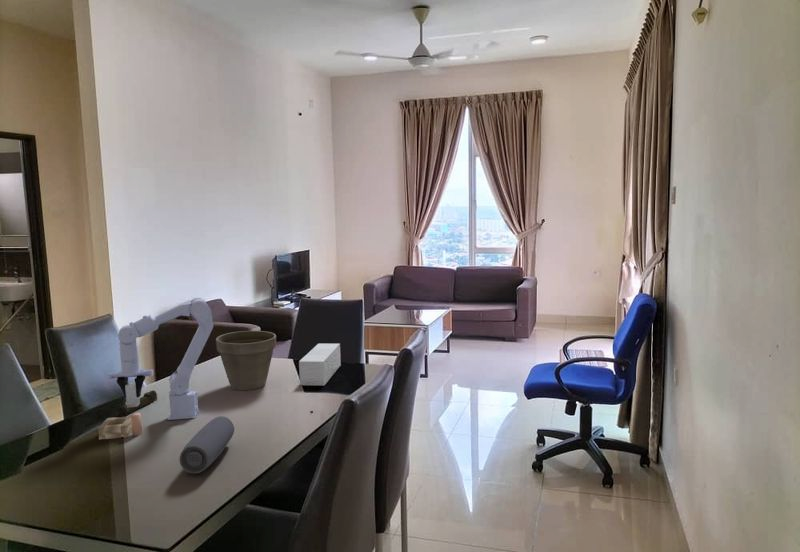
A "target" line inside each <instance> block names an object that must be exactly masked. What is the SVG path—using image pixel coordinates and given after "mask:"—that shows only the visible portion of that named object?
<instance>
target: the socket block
mask: <svg viewBox="0 0 800 552" xmlns="http://www.w3.org/2000/svg"><path fill="white" fill-rule="evenodd" d="M97 430H98V440H109V439H110V440H111V439H120V438H121V437H124V438H128V437H130V435H131V434H132V433H131V432H132V422H131V415H130V416H119V417H118V416H117V417H116V416H115V417H107V418H106V419H105V420H104V421H103V422H102V423H101V424H100V425H99V426H98V428H97ZM130 433H131V434H130Z"/></svg>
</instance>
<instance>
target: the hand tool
mask: <svg viewBox="0 0 800 552" xmlns="http://www.w3.org/2000/svg"><path fill="white" fill-rule="evenodd" d="M157 400H158V393H157V391H156V390H155V389H154V390H150V391H147V392H145V393H144V394H143V396H140V404H139V405H138V406H137V407H127V403H126V404H123V405H122V406H118V407H117V415H118V416H119V415H121V416H120V417H127V415H130V413H132V412H134V411H136V410H138V409H140V408H142V407H145V406H146V405H147V404H148V405H147V406H149V405H152V404H153V403H155V402H156V401H157ZM154 401H155V402H154ZM151 403H152V404H151Z"/></svg>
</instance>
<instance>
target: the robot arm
mask: <svg viewBox="0 0 800 552" xmlns="http://www.w3.org/2000/svg"><path fill="white" fill-rule="evenodd" d="M190 314H191V315H192V317H193V318H195V320H196V321H197V324H198V327H197V330H196V332H195V333H194V335H193V337H192V339H191V342H190V344H189V346H188V348H187V350H186V351H185V353H184V356H183V358H182V360H181V362H180V364H179V365H178V366H177V369H176V370H175V371H174V372H173V373H172V374H171V375H170V377H169V379H168V381H169V387H170V388H169V392H168V395H169V396H168V397H169V399H168V400H169V409H170V414H169V416H168V418H167V421H173V420H185V419H194V418H196V416H197V414H198V413H199V411H200V410H199V402H198V400H199V399H198V392H197V391H196V390H195V391H194V390H191V389H190V388H189V387H190V385H189V384H190V383H189V382H190V379H191V377H192V373H193V370H194V368H195V365H196V364H197V362H198V361H199V357H200V356H201V354H202V352H203V349H204V348H205V346H206V343H207V341H208V339H209V337H210V335H211V332H212V331H213V330H214V329H213V328H214V321H213V316H212V310H211V308H210V306H209V305H208V303H207V301H206V300H205V299H203V298H201V297H195V298H193V299H191V300H186V301H184V302H182V303H179V304H177V305H175V306H174V307H172V308H169V309H168V310H165V311H163V312H161V313H160V314H158V315H156V316H154V315H150V314H149V315H146V314H145V315H143V316H142V318H140V319H138V320H136V321H134V322H132V321H131V322H129V325H127V324H126V325H123V326H122V327H121V328H120V329H119V331H118V335H117V339H118V340H119V357H120V366H121V370H119V371H111V372H109V373H107V377H108V380H112V379H116V384H118V386H119V387H120V389H121V391H122V393H123V396H124V398H125V399H126V390H125V385H126V384H127V383H129V378H134V382H135V384H136V393H137V397H140V398H141V397H142V396H141V395H142V388H143V384H144V382H145V380H146V377H153V376H154V369H140V360H139V359H140V357H139V349H138V348H139V347H138V345H137V338H142V337H144V336H146V335H148V334H151V333H152V332H155V331H157V330H158V328H159V327H160V325H161V324H164V323H166V322H169V321H171V320H173V319H175V318H176V319H177V317H180V316H184V317H190Z"/></svg>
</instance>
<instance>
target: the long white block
mask: <svg viewBox="0 0 800 552" xmlns="http://www.w3.org/2000/svg"><path fill="white" fill-rule="evenodd" d="M341 361H342V360H341V343H317V344H316V345H315V346H314V347H313V348H312V349H311V350H310V351H309V352H307V354H306V355H304V356H303V357H302V358H301V359H300V360H299V361H298V367H299V369H298V370H299V385H300V386H325V385H326V384H327V383H328V382H329V381H330V379H331V378H332V377H333V375H334V374H335V373H336V372H337V370H338V369H339V368H340V367H341V366H342V364H341Z"/></svg>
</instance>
